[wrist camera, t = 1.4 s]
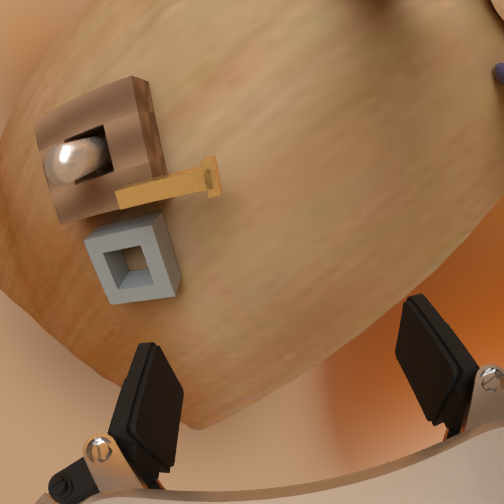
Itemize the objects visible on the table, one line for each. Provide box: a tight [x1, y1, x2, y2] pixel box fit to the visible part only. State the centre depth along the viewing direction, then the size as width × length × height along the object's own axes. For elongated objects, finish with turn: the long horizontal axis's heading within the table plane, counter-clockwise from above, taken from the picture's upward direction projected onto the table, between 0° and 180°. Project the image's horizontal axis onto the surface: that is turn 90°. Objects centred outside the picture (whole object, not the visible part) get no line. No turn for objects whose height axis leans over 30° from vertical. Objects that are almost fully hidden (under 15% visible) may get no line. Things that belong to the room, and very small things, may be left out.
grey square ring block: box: [84, 211, 182, 305], centre depth 37 cm, size 10×10×5 cm
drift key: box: [115, 156, 222, 210], centre depth 28 cm, size 4×10×2 cm, turn 99°
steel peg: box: [45, 134, 112, 186], centre depth 27 cm, size 4×4×12 cm
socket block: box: [33, 76, 168, 225], centre depth 30 cm, size 14×14×6 cm
